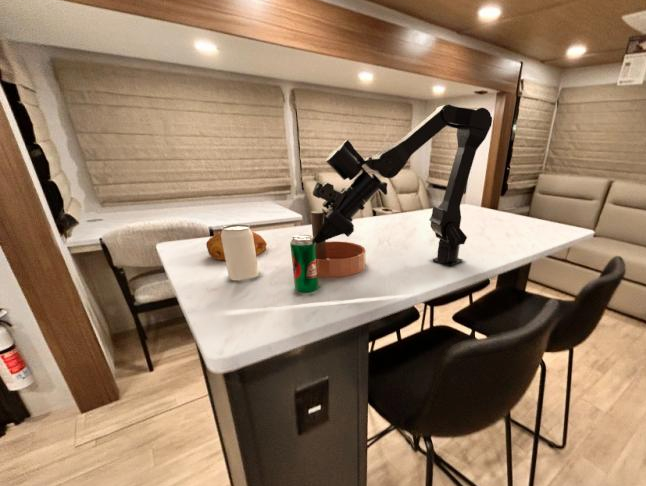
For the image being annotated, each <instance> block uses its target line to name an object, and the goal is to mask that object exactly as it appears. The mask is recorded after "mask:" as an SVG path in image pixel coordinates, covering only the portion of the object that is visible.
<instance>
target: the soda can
mask: <svg viewBox="0 0 646 486" xmlns="http://www.w3.org/2000/svg"><path fill="white" fill-rule="evenodd" d="M289 245H290V255H291V265H292V273H293V283H294V290H295V291H296V292H297V293H301V294H311V293H314V292H317V291H318V290H319V288H320V283H319V277H318V267H317V254H316V242H315V240H314V239H313V235H309V234H297V235H293V236H292V237H291V241H290V242H289Z"/></svg>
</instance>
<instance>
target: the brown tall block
mask: <svg viewBox="0 0 646 486" xmlns="http://www.w3.org/2000/svg"><path fill="white" fill-rule="evenodd" d="M310 220H311V232H312V236H313V239H314V237H315V236H316V234H317V233H318V231H319V230H320V228H321V227H322V225H323V224H324V212H323V211H322V210H312V211H310ZM326 242H327V240H325V241H323V242H320V243H318V244H316V254H317V259H326V260H329V258H327V255H326Z"/></svg>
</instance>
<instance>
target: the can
mask: <svg viewBox="0 0 646 486" xmlns="http://www.w3.org/2000/svg"><path fill="white" fill-rule="evenodd" d="M221 232H222V233H221V239H222V245H223V250H224V255H225V260H224V261H225V264H226V270H227V274H228V278H229V279H230V280H231V281H233V282H238V281H244V280H249V279H253V278H255V277H257V276H259V274H260V271H259V265H258V259H257V255H256V251H255V245H254V239H253V233H252V232H253V231H252V229H251V228H250V225H248V224H228V225H223V226H222V227H221Z"/></svg>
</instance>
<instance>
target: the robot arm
mask: <svg viewBox="0 0 646 486" xmlns="http://www.w3.org/2000/svg"><path fill="white" fill-rule="evenodd" d="M492 123H493V117H492V115H491V112H490V111H489V109H487V108H486V107H478V108H466V107H462V106H461V107H459V106H455V105H452V104H444V105H440V106H438V107H436V109H435V110H434V111H433V112H432V113H431V114H430V115H428V116H427V117H426V118H425V119H423V121H421V122H420V123H419V124H418V125H417V126H416V127H414V128H413V129H411V130H410V131H409V132H407V134H406V135H405V136H403V137H402V138H401V139H400V140H398V141H396V142H395V143H392V144H390V145H388V146H387V147H385V148H382V149H381V150H379V151H378V152H376V153H374V155H372V156H371V157H366V156H364V157H363V156H362V155H361V154H360V153H359V152H358V151H357V150H356V148H354V146H353V144H352V142H350V140H348V139H347V140H344V141H343V143H341V144H340V145H339V146H338V147H336V149H333V150H332V152H331V153H330V154H329V155H328V156H327V158H326V159H325V163H326V164H327V165H328V166H329V167H330V168H331V169H332V170H333V171H334V172H335V173H336V174H337V175H338V177H340V178H341V179H342V180H343V181H345V180H347V179H348V180H349V181H352V182H350V183H349V185H348V186H347V187H342V188H341V189H340V190H338V189H337V188H335V187H334V184H331V183H329V182H328V181H327V182H325V183H324V182H322V181H319V180H317V181H316V182H315V185H314V188H313V190H312V196H314V197H315V198H317V199H322V200H324V201H323V203H321V206H322V207H323V208H321V211H323V212H324V224H323V225H322V227H321V228H320V230H319V231H318V233H317V234H316V236H315V237H314V240H315V242H316V244H318V243H320V242H323V241H325V240H326V241H328V240H330V239H332V238H336V237H338V236H341V235H345V236H346V237H347V238H348V237H350V236H351V235H352V233H354V231H355V227H354V226H355V225H354V224H353V221H354V219H353V218H354V217H355V216H356V215H357V214H358V213H359V211H363V210H364V209H365V208H366V207H365V205H367V203H368V202H370V200H371V199H372V198H373V197H374V196H375V195H376V194H377V193H378V191H379V192H380V193H381V194H382V195H384V196H387V195H388V182H386V181H381V180H380V179H379V178H378V176H379V177H381V178H384V179H392V178H393V179H394V178H395V177H397V176H398V174H399V173H400V172H401V171H402V170H403V169H404V167H405V166H406V164H407V163H408V161H409V159H410V158H411V157H412V155H413V154H414V153H416V152H417V151H418V150H419V149H420V148H422V147H423V146H424V145H426V143H428V142H429V141H430V140H431V139H432V138H434V137H435V136H436V135H437V134H438V133H439V132H441V131H442V130H443V129H444V128H446V127H449V128H453V129H456V140H457V141H456V142H457V149H456V153H455V156H454V159H453V163H452V167H451V170H450V174H449V177H448V181H447V185H446V188H445V192H444V195H443V199H442V201H441V203H440V204H439V205H438V206H435V205H433V207H432V211H431V215H430V217H429V219H428V221H430V228H431V230H432V232H433V233H434V235H435V237H436V238H437V239H439V240H438V245H437V246H438V247H437V256H436V257H434V258H432V262H435V263H439V264H442V265H445V266H449V267H453V266H455V265H457V264H459V263H462V262H463V259H462V258H459V254H460V253H459V252H460V246H461V245H465V243H466V241H467V238H468V236H467V235H466V234H465V232H463V230H462V229H461V223H462V212H461V204H462V201H463V200H462V199H463V197H464V194H465V190H466V187H467V183H468V180H469V176H470V173H471V169H472V167H473V163H474V160H475V156H476V152H477V151H478V149H479V148H480V146H481V145H482V144H483V142H484V141H485V140H486V138H487V135H488V133H489V131H490V129H491V127H492ZM366 169H369V170H372V172H373V173H371V174H369V172H368V171H367V170H366ZM324 208H326V209H324Z"/></svg>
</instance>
